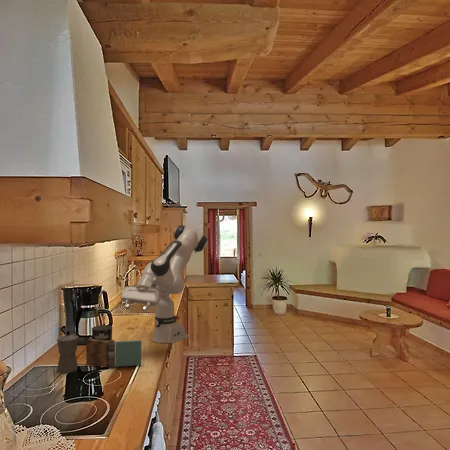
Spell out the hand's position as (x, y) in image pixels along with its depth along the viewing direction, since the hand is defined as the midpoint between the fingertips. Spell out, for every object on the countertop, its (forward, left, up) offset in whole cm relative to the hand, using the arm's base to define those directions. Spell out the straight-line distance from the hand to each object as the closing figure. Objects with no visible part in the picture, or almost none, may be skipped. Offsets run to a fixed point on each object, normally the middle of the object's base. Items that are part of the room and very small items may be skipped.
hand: (135, 309), depth 183 cm
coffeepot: (+29, -10, -26) cm, 40 cm away
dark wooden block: (+16, -4, -25) cm, 30 cm away
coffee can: (+9, -19, -26) cm, 33 cm away
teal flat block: (+8, +5, -25) cm, 27 cm away
